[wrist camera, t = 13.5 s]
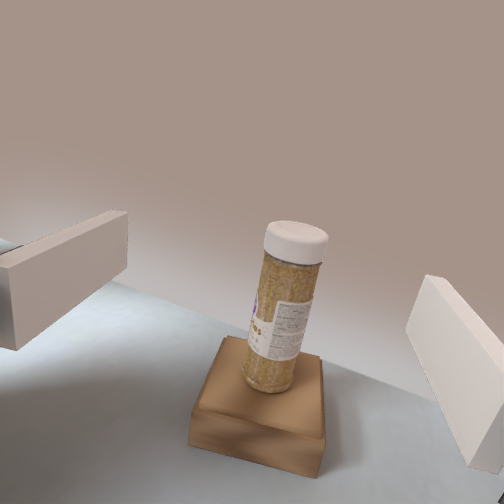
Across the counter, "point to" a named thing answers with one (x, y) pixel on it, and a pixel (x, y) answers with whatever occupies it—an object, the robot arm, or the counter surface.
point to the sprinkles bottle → (282, 303)
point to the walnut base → (261, 414)
